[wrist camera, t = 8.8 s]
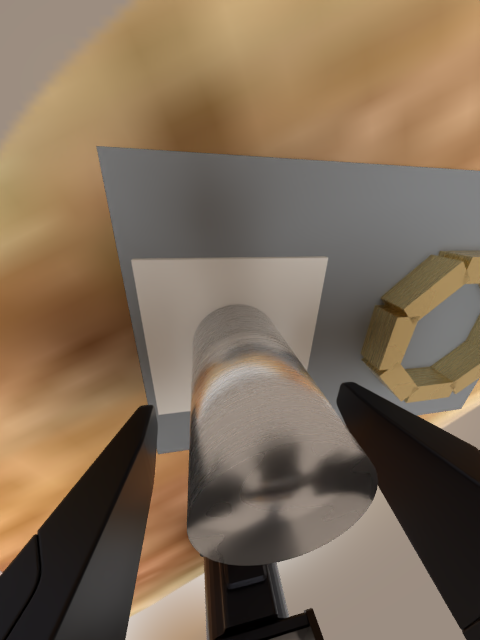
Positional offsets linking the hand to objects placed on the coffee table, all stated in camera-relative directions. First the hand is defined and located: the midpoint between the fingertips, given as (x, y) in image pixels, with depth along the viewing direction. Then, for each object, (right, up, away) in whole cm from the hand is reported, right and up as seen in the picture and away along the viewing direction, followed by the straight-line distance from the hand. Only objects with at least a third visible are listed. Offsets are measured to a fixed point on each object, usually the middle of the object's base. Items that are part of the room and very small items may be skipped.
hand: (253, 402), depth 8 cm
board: (+5, +3, +6) cm, 8 cm away
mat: (-1, +2, +4) cm, 4 cm away
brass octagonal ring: (+11, +2, +5) cm, 12 cm away
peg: (-1, +2, +3) cm, 4 cm away
